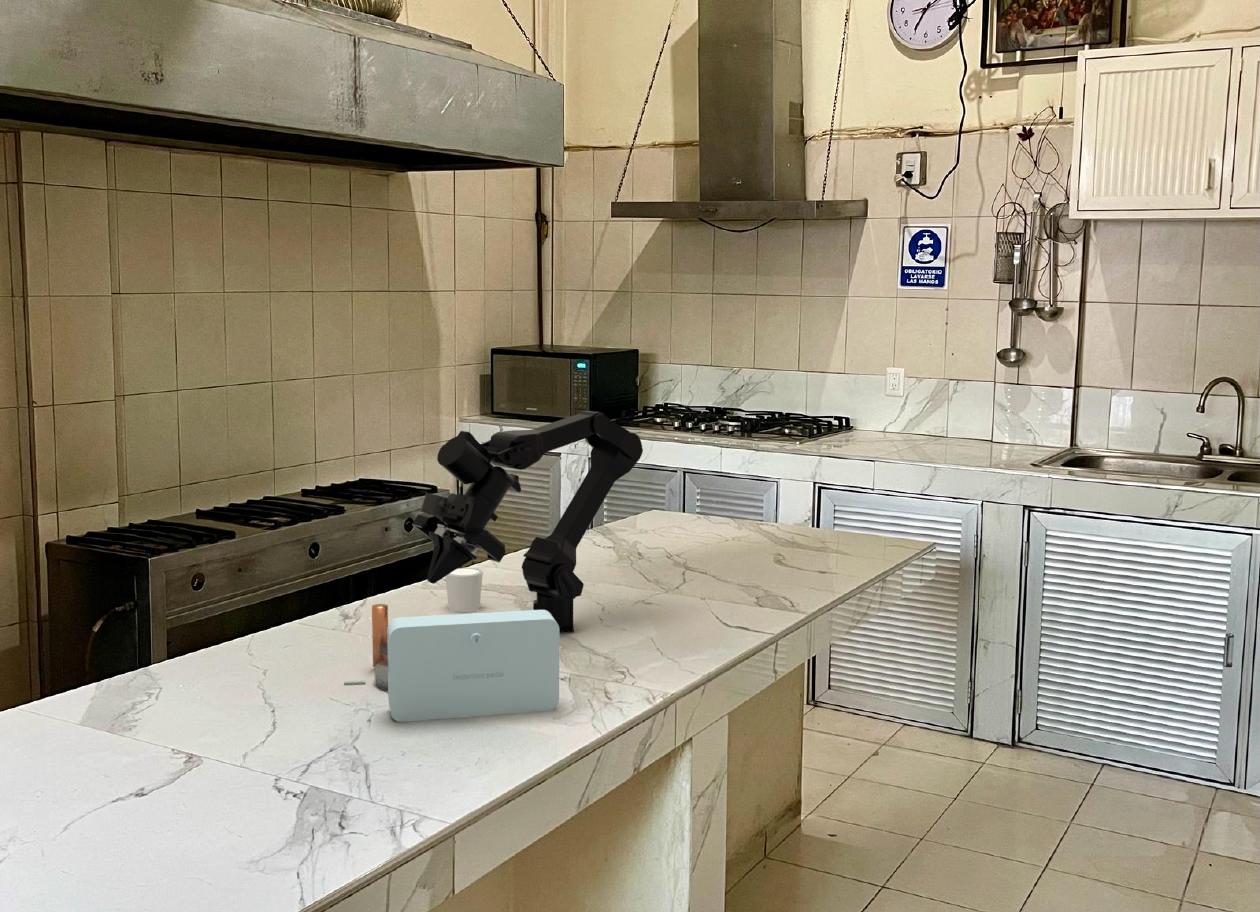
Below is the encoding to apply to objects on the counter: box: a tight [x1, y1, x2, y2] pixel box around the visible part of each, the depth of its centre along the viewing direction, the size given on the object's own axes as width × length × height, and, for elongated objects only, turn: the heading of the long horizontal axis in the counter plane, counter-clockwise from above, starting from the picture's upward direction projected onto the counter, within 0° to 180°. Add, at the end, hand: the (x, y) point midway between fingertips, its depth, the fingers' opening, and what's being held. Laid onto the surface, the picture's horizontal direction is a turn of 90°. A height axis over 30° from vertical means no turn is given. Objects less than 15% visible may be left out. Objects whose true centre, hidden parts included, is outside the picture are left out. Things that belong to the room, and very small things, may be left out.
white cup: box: [444, 567, 484, 614], centre depth 222 cm, size 7×7×7 cm
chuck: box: [374, 659, 388, 692], centre depth 180 cm, size 10×10×7 cm
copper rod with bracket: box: [371, 603, 389, 669], centre depth 184 cm, size 7×2×10 cm, turn 43°
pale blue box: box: [387, 609, 560, 723], centre depth 168 cm, size 23×6×13 cm, turn 104°
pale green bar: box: [343, 680, 366, 686], centre depth 180 cm, size 3×1×1 cm, turn 98°
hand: (430, 582), depth 190 cm, fingers closed
